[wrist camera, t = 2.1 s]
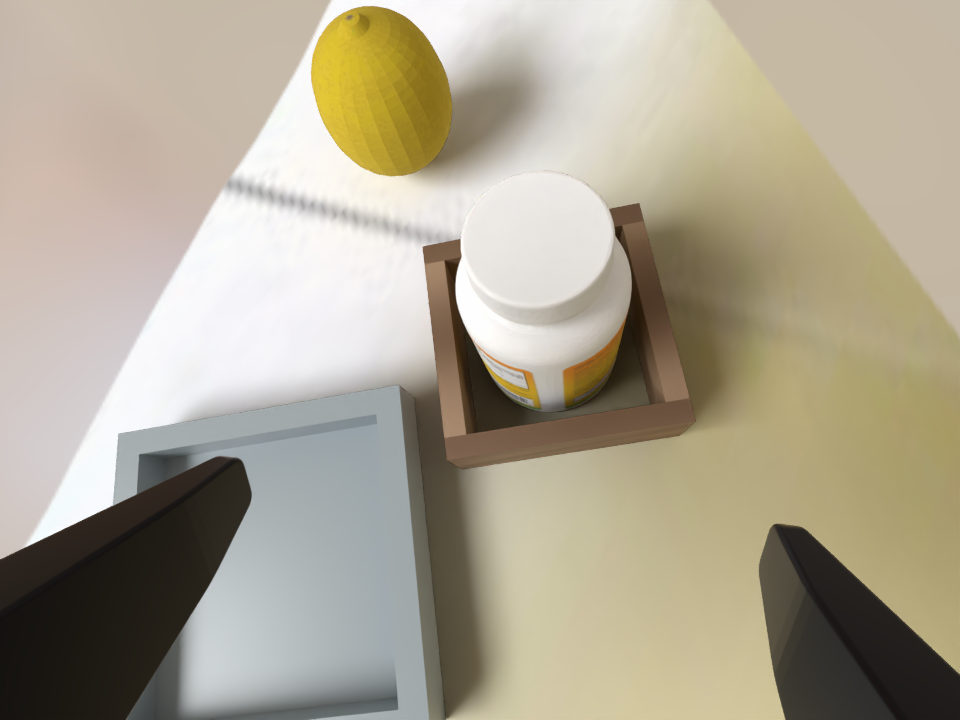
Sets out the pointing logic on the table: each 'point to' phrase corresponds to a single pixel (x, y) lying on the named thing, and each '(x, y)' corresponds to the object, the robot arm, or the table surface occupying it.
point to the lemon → (381, 91)
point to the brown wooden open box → (576, 433)
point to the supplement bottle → (544, 288)
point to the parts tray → (304, 567)
